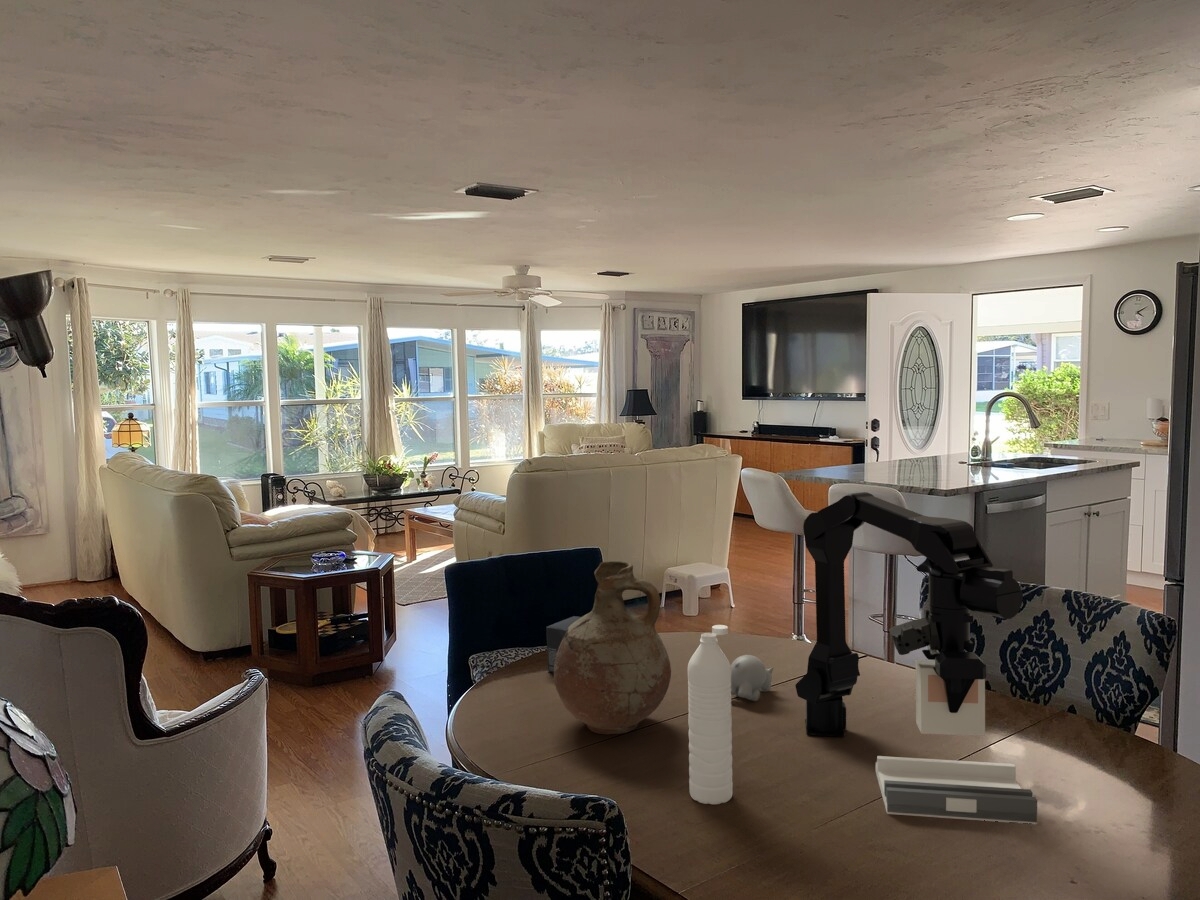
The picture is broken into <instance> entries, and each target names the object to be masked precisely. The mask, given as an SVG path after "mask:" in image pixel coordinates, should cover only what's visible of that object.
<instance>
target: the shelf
mask: <svg viewBox="0 0 1200 900" xmlns="http://www.w3.org/2000/svg"><path fill="white" fill-rule="evenodd" d="M1016 769H1017V767H1016V765H1015V764H1014V763H1007V762H1006V763H1005V762H989V761H987V762H985V761H971V760H969V761H968V760H957V759H956V760H954V759H952V760H951V759H937V758H922V757H921V758H918V757H917V758H916V757H904V756H902V757H901V756H899V757H898V756H888V755H887V756H885V755H884V756H883V755H877V757H876V761H875V774H876V779H877V782H878V786H879V789H880V793H881V795H882V800H883V804H884V807H885V811H886V814H887V815H899V816H900V815H901V816H914V817H924V818H925V817H926V818H927V817H929V818H941V819H942V818H943V819H955V820H956V819H957V820H966V821H967V820H969V821H970V820H971V821H981V822H982V821H984V820H985V821H986V822H995V821H998V823H1009V822H1018V823H1017V824H1023V823H1028V824H1027V825H1030V824H1029V823H1032V824H1031V825H1038V799H1037V797H1036V796H1033V795H1034V794H1033V791H1032V790H1031V789H1029V788H1022V787H1021V786H1020V784H1019V783H1018V781H1017V780H1016V779H1017V777H1016V776H1017V775H1016V772H1017V771H1016ZM985 821H984V822H985ZM1033 823H1034V824H1033Z"/></svg>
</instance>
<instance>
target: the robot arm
mask: <svg viewBox="0 0 1200 900" xmlns="http://www.w3.org/2000/svg"><path fill="white" fill-rule="evenodd" d="M865 523H866V524H869V525H871V526H872V527H873V526H874V527H876V528H877V529H881V530H882V531H885V532H887V533H890V534H892V535H894V536H897V537H899V538H901V539H904V540H905V541H908V542H909V543H910V544H911V545H912V547H913V549H914V550H915V552H917V553H919V554H921V555H922V556H924V558H925V560H924V561H923V562H922V563H920V564H919V565H918V566H916V567H915V568H916V571H917V572H919V573H924V574H928V606H927V607H926V608H925V609H924V611H923V615H924V617H922V618H918V619H913V620H909V621H906V622H904V623H901V624H898V625H894V626H892V627H890V628H889V629H888V632H889V634H890V637H891V639H892V641H893V644H894V647H895V649H896V651H897V653H898V655H900V656H905V655H909V654H910V653H911V652H912V651H914V652H915V651H916V650H920V649H922V650H921V652H922V654H923V655H924V657H925V658H926V660H935V667H933V669H934V671H935V672H936V674H937V675H938V676H940V677H941V678H942V679H943V681H944V687H945V692H946V698H947V703H948V708H949V712H950V713H957V712H958V710H959V708H960V706H961V705H962V703H963V701H964V699H965V697H966V695H967V693H968V691H969V690H970V688H971V686H972V684H973V683H974V681H975V679H985V680H986V679H987V665H986V664H985V662H984V661H983V660H982V659H981V658H980V657H979V655H977V654H976V653H975V652H974V642H973V641H972V640H971V639H970V638H971V624H972V623H974V615H973V614H972V613H971V611H972V612H975V613H979V614H984V615H989V616H991V617H997V618H1000V619H1005V620H1011V619H1013V618H1014V617H1016V616H1017V614H1018V613H1019V611H1020V610H1021V608H1022V605H1023V604H1022V603H1023V598H1024V594H1023V591H1022V590H1021V586H1020V584H1019V582H1018V581H1017V580H1016V579H1014V576H1013V575H1014V574H1013V573H1014V572H1013V570H1012V569H1006V568H994V566H993V563H992V561H991V559H990V557H989V556H988V554H987V553H986V551H985V549H984V548H983V546H982V545H981V543H980V541H979V539H978V538H977V535H976V533H975V531H974V527H973V525H971V524H970V523H968V522H967V521H964V520H959V519H953V518H949V517H940V516H939V517H937V516H928V515H923V514H921V513H919V512H915V511H914V510H910V509H908V508H905V507H903V506H901V505H897V504H895V503H892V502H889V501H887V500H885V499H882V498H879V497H876V496H874V495H873V494H871V493H870V492H866V491H863V492H862V491H861V492H853V493H847V494H845V495H844V496H842V497H841V498H840V499H839V500H837V501H835V502H833V503H832V504H830V505H828V506H825V507H824V508H821V509H820V510H818V511H816V512H811V513H809V514H808V515H807V517H806V518H805V519H804V521H803V525H802V526H803V529H802V530H803V535H804V536H803V537H804V541H805V542H804V543H805V548H806V549H807V551H808V553H809V554H810V556H811V557H812V559H813V561H814V575H815V577H814V578H815V580H814V581H815V613H816V614H815V621H816V642H815V644H814V646H813V648H812V650H811V652H810V654H809V655H808V658H807V659H808V660H807V669H806V673H805V674H804V676H802V677H801V678H800V680H798V681H797V683H795V685H794V686H795V690H796V694H797V697H798V698H800V699H802V700H804V701H805V719H804V724H805V732H806V733H805V734H806V735H807V736H822V737H823V736H824V737H825V736H826V737H839V738H841V737H842V738H843V737H845V731H846V730H847V705H846V703H845V701H844V699H843V697H846V696H851V694H852V692H853V688H854V686H855V685H856V684H857V682H858V677H859V676H861V673H860V669H859V662H860V661H859V660H860V657H859V654H858V653H857V652H853V651H852V650H851V647H849V644H848V643H847V638H846V635H847V634H846V598H845V597H846V596H845V595H846V593H845V592H846V591H845V561H846V559H847V556H848V555H849V553H850V551H851V548H852V547H853V542H854V541H853V540H854V533H855V531H856V530H857V529H859V528H860V527H861V526H863V525H864V524H865ZM925 647H927V649H923V648H925ZM965 650H966V651H965Z"/></svg>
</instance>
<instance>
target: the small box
mask: <svg viewBox="0 0 1200 900" xmlns="http://www.w3.org/2000/svg"><path fill="white" fill-rule="evenodd" d="M581 617H582V616H575V615H573V616H570V617H568V618H565V619H562V620H560V621H558V622H555V623H553V624H550V625H548V626H546V629H545V631H546V649H547V654H546V655H547V672H548V671H549V672H548V673H550V672H553V673H552V674H554V664H555V659H556V655H557V652H558V649H559V646H560V644H561V642H562V640H563V638H564V636H565V634H566V631H567V628H568V627H569V626H570V625H571V624H573V623H574V622H575V621H577V620H578V619H580V618H581Z"/></svg>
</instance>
